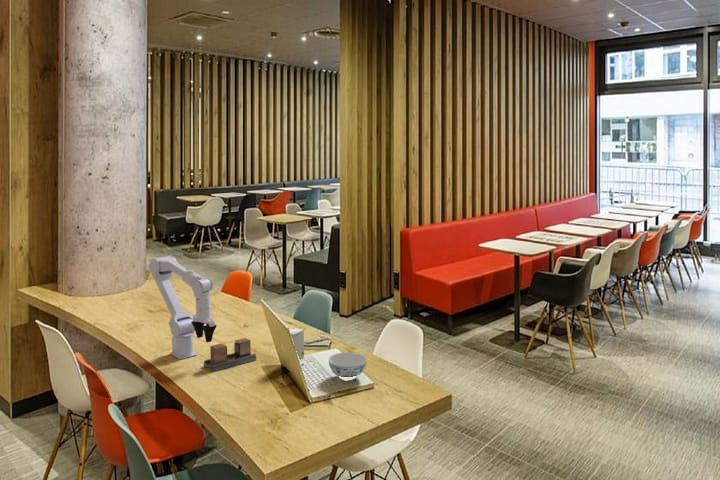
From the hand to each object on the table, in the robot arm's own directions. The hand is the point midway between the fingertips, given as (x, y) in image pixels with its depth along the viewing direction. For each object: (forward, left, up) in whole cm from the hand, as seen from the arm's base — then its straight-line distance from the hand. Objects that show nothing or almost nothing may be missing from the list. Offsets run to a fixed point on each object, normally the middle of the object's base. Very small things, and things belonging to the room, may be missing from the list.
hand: (204, 339), depth 242 cm
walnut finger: (+9, +1, -8) cm, 12 cm away
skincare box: (+28, +25, -10) cm, 38 cm away
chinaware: (+52, +33, -10) cm, 63 cm away
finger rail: (+9, +7, -9) cm, 15 cm away
